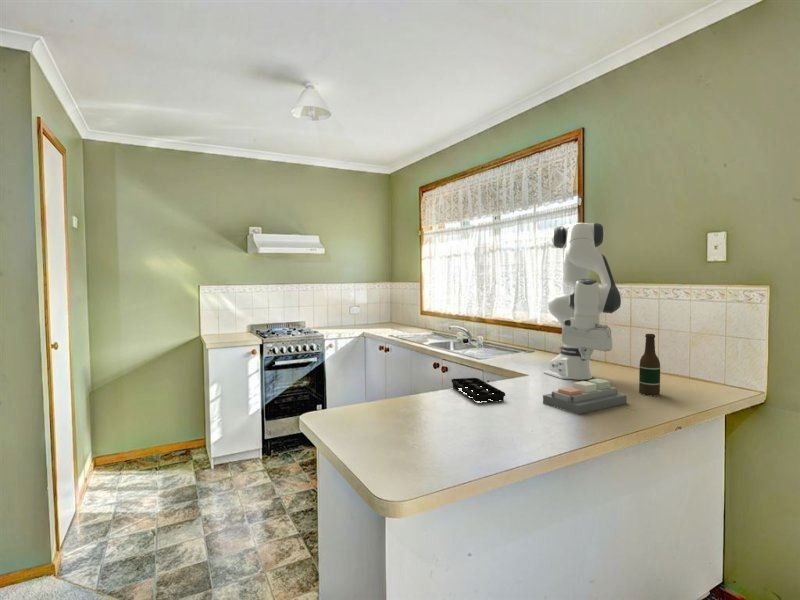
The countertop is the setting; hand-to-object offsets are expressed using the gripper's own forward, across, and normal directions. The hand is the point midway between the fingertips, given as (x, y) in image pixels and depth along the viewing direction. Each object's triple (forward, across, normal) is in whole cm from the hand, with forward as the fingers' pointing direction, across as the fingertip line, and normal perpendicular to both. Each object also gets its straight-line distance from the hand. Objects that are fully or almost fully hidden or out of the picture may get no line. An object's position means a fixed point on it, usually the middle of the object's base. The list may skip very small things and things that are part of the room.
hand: (585, 359), depth 168 cm
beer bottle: (+17, -4, -32) cm, 36 cm away
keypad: (+16, -1, +1) cm, 16 cm away
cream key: (+12, -1, +1) cm, 12 cm away
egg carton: (+17, +31, +27) cm, 44 cm away
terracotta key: (+13, -1, +9) cm, 16 cm away
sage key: (+12, -1, -7) cm, 14 cm away
